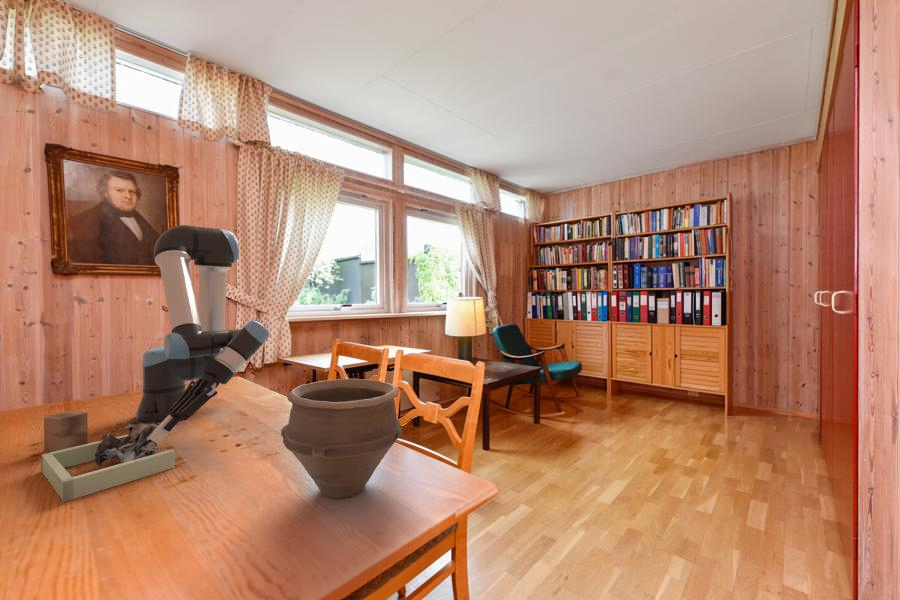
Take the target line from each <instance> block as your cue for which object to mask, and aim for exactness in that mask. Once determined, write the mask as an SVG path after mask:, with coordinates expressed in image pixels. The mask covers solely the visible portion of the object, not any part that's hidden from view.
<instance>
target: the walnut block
mask: <svg viewBox="0 0 900 600" xmlns="http://www.w3.org/2000/svg"><path fill="white" fill-rule="evenodd" d="M43 424H44V425H43V438H44V439H43V442H44V444H43V447H44V449H43V450H44V452H45V451H49V452H48V453H50V452H55V451H59V450H63V449H68V448H72V447H76V446H80V445H85V444H89V442H88V441H89V439H88V438H89V437H88V435H89V433H88V431H89V429H88V428H89V427H88V426H89V425H88V424H89V423H88V412H86V411H80V410H79V411H77V410H68V411H65V412H60V413H56V414H53V415H48V416H44V417H43Z"/></svg>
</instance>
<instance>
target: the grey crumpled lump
mask: <svg viewBox="0 0 900 600" xmlns="http://www.w3.org/2000/svg"><path fill="white" fill-rule="evenodd" d="M116 425H119V427H118V428H117V429H116V430H112V431H110V432H108V433H107V434H103V436H102V438H101V440H100V441H102V440H103V441H102V442H100V444H99V446H98V447H97V450H96V454H95V460H94V461H95V462H94V463H95V465H96V466H97V467H100V466H102V464H103V463H104V462H106V461H108V462H113V460H114V459H116V458H118V459H119V463H120V464H121V463H125V462H128V461H132V460H136V459H139V458H143V457H146V456H150V455H153V454H155V452H154V451H157V450H159V449H160V447H157V446H158V444H157V443H156V442H154V441H152V440H150V439H149V438H147V437H148V436H149V435H150V434H151V433H152V432H153V431H154V430H155V429H156V428H157V427H158V426H159V424H158V423H156V421H153V422H148V423H140V421H138V420H136V419H133V420H132V421H130V422H129V423H128V424H127V425H124V426H121V425H122V423H116ZM124 429H128V430H129V433H128V434H129V435H128V434H127V435H128V436H127V438H126V439H124V440H123V441H120V440H119V439H117V438H115V437H116V436H114V435H112V433H113V434H114V433H115V432H117V431H119V430H124ZM135 438H136V440H135V441H136V442H135V443H131V442H132V441H133V440H134V439H135ZM131 445H133V447H131V448H129V447H130V446H131ZM156 447H157V448H156ZM123 448H124V449H125V448H129V449H127V450H126V451H125V450H122V449H123Z"/></svg>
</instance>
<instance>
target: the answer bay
mask: <svg viewBox="0 0 900 600" xmlns="http://www.w3.org/2000/svg"><path fill="white" fill-rule="evenodd" d="M128 435H129V433H128V434H123V435H120V436H114V437H115V438H117V439H119V440H120V441H123V440H124V439H126V438H127V436H128ZM101 440H102V439H101ZM101 440H98V441H94V442H90V443H89V442H88V444H85V445H80V446H76V447H72V448H68V449H63V450H59V451H55V452H46V453H43V454H41V473H42V475H43V476H44V475H45V476H44V477H45V478H47V479H48V480H47V479H46V480H47V481H48V483H49V482H50V483H51V484H50V483H49V484H50V486H51V485H52V486H53V487H52V486H51V487H52V488H53V490H54V489H55V490H54V491H55V492H57V493H58V494H57V493H56V494H57V495H58V497H59V496H60V497H59V498H60V500H61V499H62V500H61V501H62V503H66V502H69V501H72V499H73V500H76V499H79V498H82V497H85V496H89V495H91V494H94V493H98V492H100V491H101V492H102V491H104V490H107V489H110V488H113V487H114V488H115V487H117V486H120V485H123V484H126V483H129V482H133V481H135V480H139V479H142V478H145V477H149V476H153V475H155V474H158V473H159V474H160V473H161V472H165V471H168V470H171V469H174V468H175V467H176V451H175V449H168V450H165V451H161V452H158V453H154V454H153V455H150V456H146V457H143V458H139V459H136V460H132V461H128V462H125V463H121V462H120V463H118V464H115V465H111V466H107V467H103V468H100V469H96V470H94V471H90V472H86V473H82V474H79V475H76V476H71V474H70V473H69V472H68V470H66V468H69V467H73V466H77V465H82V464H85V463H88V462H92V461H95V454H96V450H97V447H98V446H99V444H100V442H102V441H103V440H102V441H101ZM135 440H136V438H135V439H134V440H133V441H132V442H131V443H135V442H136V441H135ZM131 447H133V445H131V446H130V447H129V448H131ZM129 448H125V449H124V448H123V449H122V450H125V451H126V450H127V449H129Z"/></svg>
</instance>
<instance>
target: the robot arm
mask: <svg viewBox="0 0 900 600" xmlns="http://www.w3.org/2000/svg"><path fill="white" fill-rule="evenodd" d="M239 248H240V246H239V242H238V239H237V237H236V236H235V234H234V233H233V232H232V231H230V230H226V229H221V228H215V227H214V228H213V227H212V228H211V227H204V226H195V225H189V224H187V225H186V224H181V225H175V226H172V227H170V228H168V229H167V230H165V231H164V232H163V233H162V234H160V236H159V238H157V240H156V243H155V245H154V247H153V258H154V263H155V264H156V266H158V267H159V269H160V275H161V280H162V287H163V293H164V298H165V303H166V309H167V314H168V319H169V326H170V330H171V331H170V332H171V333H167V334H166V335H165V336H164V340H163V345H161V346H158V347H157V346H156V347H154V348H153V347H152V348H149V349H147V350H146V351H145V352H144V353H143V355H142V362H141V367H142V396H141V399H140V402H139V404H138V407H137V410H136V412H135V418H136V420H137V422H148V423H151V422H153V421H154V422H161V423H159V424H158V427H157V428H156V429H155V430H154V431H153V432H152V433H151V434H150V435H149V436H148V437H147V439H148V440H149V439H150V440H152V441H154V442H156V443H157V445H159V444H160V443H161V442H162V441H163V440H164V439H165V438H166V437H167V435H169V434H170V432H171V431H172V430H173V429H174V428H175V427H176V426H177V425H178V424H179V423H180V422H182V421H187V420H188V419H190V418H191V417H192V416H193V415H194V414H195V413H197V411H199V409H201V408H202V407H203V406H204V405H205V404H206V403H207V402H208V401H209V400H211V399H212V398H214V397H215V396H216V395H218V391H217V390H216V389H217V388H218V386H219V385H227V384H228V382H229V381H230V380H231V379H232V378H233V377H234V376H235V375H234V374H237V373H238V372H239V371H240V370H241V369H242V367H244V365H246V363H247V362H248V361H249V360H250V359H251V358H252V356H253V355H254V354H255V353H256V352H257V351H258V350H259V349H260V348H261V347H262V346H263V345H264V344H265V343H266V342H267V340H268V339H269V337H270V335H271V333H270V331H269V329H268V328H267V327H266V326H265V325H263V323H260V322H259V321H257V320H254V319H252V320H250V321H249V322H247V323H246V324H245V325H244V326H243V327H242V328H239V329H237V328H236V329H226V312H227V311H226V309H227V285H228V284H227V283H228V282H227V281H228V280H227V278H228V271H229V270H232V268H233V264H235V263H237V262H238V260H239V256H240V249H239ZM191 261H194V262H193V265H194V267H195V268H196V269H197V271H198V297H197V299H196V294H195V290H194V284H193V281H192V275H191V271H190V265H189V264H190V263H191ZM197 301H198V303H197ZM189 381H190V382H189ZM186 382H189V383H188V386H187V387H186Z"/></svg>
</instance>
